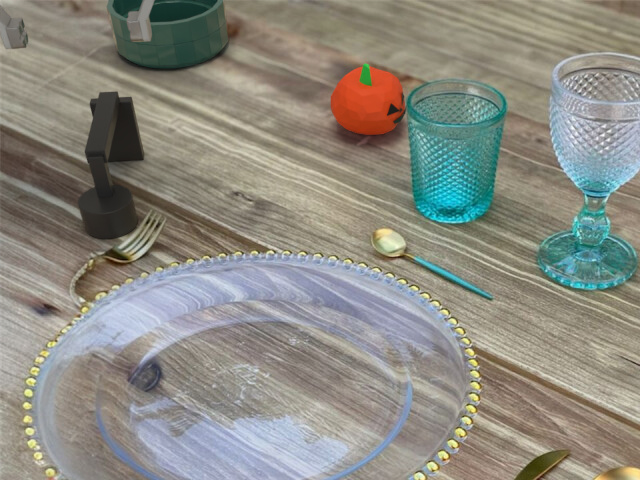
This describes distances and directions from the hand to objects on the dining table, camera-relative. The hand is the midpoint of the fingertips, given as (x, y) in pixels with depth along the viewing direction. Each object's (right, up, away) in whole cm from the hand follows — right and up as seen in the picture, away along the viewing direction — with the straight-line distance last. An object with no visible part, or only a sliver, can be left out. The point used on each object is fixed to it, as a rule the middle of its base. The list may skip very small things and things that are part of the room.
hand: (80, 42), depth 72 cm
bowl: (0, +12, +31) cm, 33 cm away
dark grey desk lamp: (0, -10, +10) cm, 14 cm away
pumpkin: (+22, -1, +19) cm, 29 cm away
